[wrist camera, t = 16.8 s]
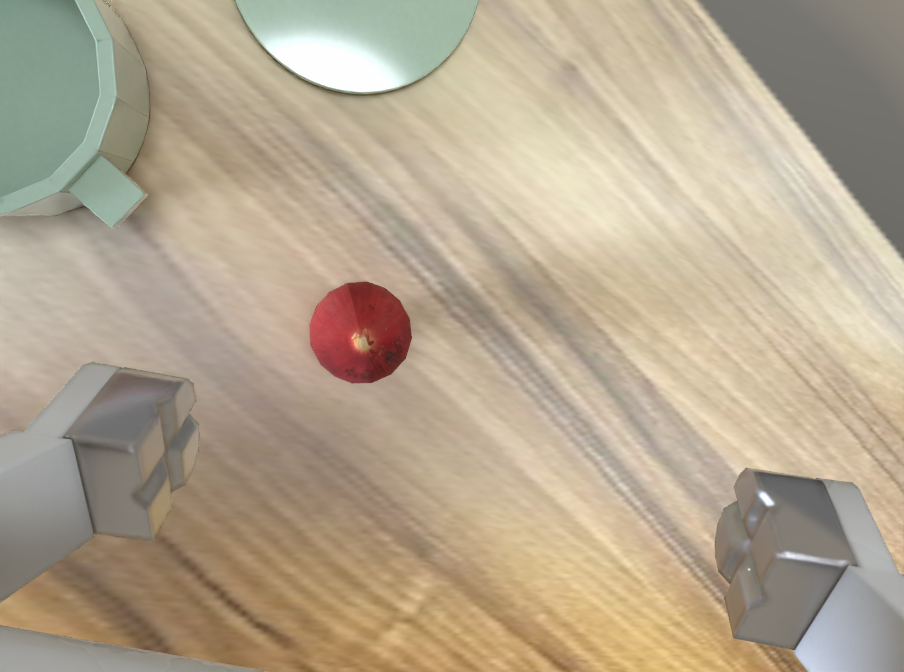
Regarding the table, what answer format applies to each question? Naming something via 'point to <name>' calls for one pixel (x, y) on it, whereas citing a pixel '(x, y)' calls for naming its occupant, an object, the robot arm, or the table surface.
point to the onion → (360, 332)
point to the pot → (69, 109)
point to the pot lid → (359, 39)
